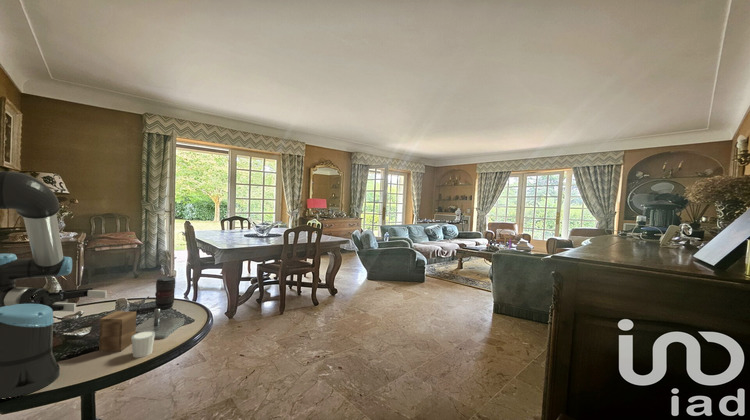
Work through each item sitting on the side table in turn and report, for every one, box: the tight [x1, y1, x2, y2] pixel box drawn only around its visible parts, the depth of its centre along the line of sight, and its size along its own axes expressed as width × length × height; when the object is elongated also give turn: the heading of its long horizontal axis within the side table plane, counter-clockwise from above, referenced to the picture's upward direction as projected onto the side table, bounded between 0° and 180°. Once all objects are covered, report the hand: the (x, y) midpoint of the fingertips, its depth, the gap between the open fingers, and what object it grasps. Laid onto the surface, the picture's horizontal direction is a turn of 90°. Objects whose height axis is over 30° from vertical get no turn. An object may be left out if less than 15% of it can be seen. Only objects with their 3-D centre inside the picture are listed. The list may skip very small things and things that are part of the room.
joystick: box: [136, 307, 185, 339], centre depth 126 cm, size 14×14×10 cm
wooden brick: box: [98, 310, 137, 352], centre depth 111 cm, size 7×7×12 cm
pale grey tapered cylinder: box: [131, 331, 155, 359], centre depth 108 cm, size 7×7×7 cm
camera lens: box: [154, 276, 176, 310], centre depth 151 cm, size 8×8×15 cm
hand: (91, 300), depth 110 cm, fingers open, 13 cm apart
